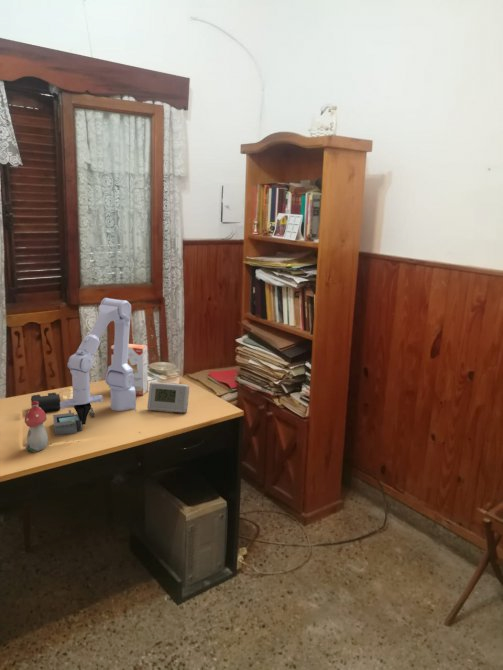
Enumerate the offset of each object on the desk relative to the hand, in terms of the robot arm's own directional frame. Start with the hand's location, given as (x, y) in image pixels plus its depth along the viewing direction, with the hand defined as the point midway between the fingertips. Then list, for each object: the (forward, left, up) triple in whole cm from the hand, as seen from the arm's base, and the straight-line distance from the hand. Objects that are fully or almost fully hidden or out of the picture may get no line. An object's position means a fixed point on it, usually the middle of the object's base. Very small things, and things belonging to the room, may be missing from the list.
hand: (82, 423), depth 185 cm
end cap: (+12, -20, -2) cm, 23 cm away
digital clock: (-33, -8, -2) cm, 34 cm away
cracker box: (-22, -32, -2) cm, 39 cm away
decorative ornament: (+16, +10, -2) cm, 19 cm away
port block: (+6, 0, -2) cm, 6 cm away
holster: (0, -10, -2) cm, 10 cm away
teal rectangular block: (+5, 0, -2) cm, 5 cm away
